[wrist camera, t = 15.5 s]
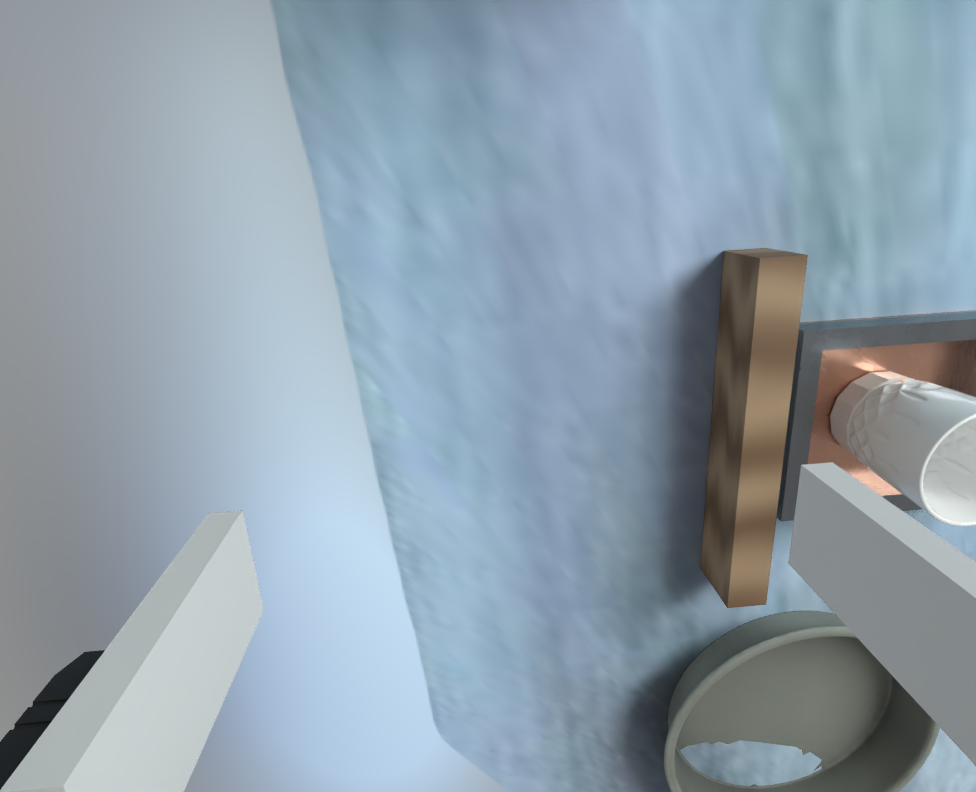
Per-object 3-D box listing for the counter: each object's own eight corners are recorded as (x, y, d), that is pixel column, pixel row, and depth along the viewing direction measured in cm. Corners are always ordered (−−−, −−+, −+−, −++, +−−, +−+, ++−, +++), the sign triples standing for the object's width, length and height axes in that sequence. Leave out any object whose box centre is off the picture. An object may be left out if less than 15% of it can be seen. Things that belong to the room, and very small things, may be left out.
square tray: (785, 323, 43) (804, 331, 41) (983, 309, 43) (1012, 316, 41) (765, 505, 48) (781, 521, 45) (943, 490, 48) (967, 505, 46)
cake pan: (604, 673, 53) (617, 715, 48) (860, 546, 50) (898, 579, 46) (708, 832, 60) (728, 881, 56) (935, 729, 58) (974, 772, 53)
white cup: (930, 359, 44) (1062, 404, 35) (911, 455, 47) (1028, 521, 37) (828, 366, 44) (934, 413, 34) (814, 462, 46) (908, 531, 37)
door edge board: (724, 250, 41) (759, 258, 36) (766, 248, 41) (807, 255, 36) (700, 568, 49) (727, 608, 45) (735, 565, 49) (766, 604, 45)
